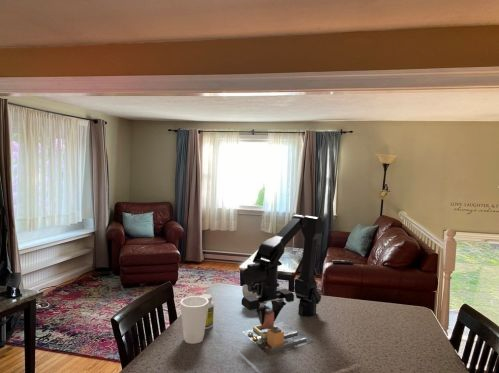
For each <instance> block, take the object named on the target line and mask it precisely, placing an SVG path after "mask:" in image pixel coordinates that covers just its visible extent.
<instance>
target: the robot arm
mask: <svg viewBox="0 0 499 373" xmlns="http://www.w3.org/2000/svg"><path fill="white" fill-rule="evenodd" d="M324 225H325V223H324V220H323V219H322V218H321V217H319V216H314V215H302V214H294V215H292V217H291V219H290V220H289V221H288V222H287V223H286V224H285V226H283V228H281V229H280V230H279V232H278V233H276V235H274V236H273V237H270V238H267V239H266V240H265V241H263V242H262V243H261V244H260V245H259V247H258V250H257V251H256V254H255V256H254V258H253V260H252V263H248V264H247V266H246V268H244V270H243V272H242V274H241V275H242V277H241V278H242V280H243V282H244V283H245V284H246V285H248V291H249V292H252V293H253V294H254V293H257V295H258V296H260V298H255V297H254V296H252V295H251V296H245V297H244V296H242V298H241V306H243V307H244V308H245V309H247V310H248V311H254V310H255V312H256V314H257V316H258V320H259V323H260V325H261V324H262V325H263V323H264V317H265V310H266V309H267V308H266V307H265V306H263V303H265V302H267V303H270V302H271V305H272V306H271V310H272V311H274V323H275V322H276V320H277V318H278V316H279V314H280V313H281V311H282V309H283V308H284V306H286V305H287V303H291V302H294V301H295V298H296V299H299V304H298V309H297V311H298V315H300V316H301V317H314V316H315V315H317V316H320V315H319V314H318V313H317V305H318V304H320V303H321V299H322V295H321V294H320V292H319V291H318V283H317V281H316V279H315V275H314V274H315V265H316V254H317V245H318V239H319V238H320V236H322V233H323V229H324ZM300 230H301V234H302V236H303V238H304V239H303V249H302V250H303V251H302V257H301V259H302V260H301V270H300V274H299V276H298V277H297V278H295V279H294V286H293V289H294V293H295V294H294V293H293V292H291V291H290V290H288V289H286V288H281V289H278V288H279V287H280V283H279V282H278V275H279V274H278V269H279V266H282V265H283V263H282V262H281V261H280V260H281V257H283V255H284V253H285V247H286V246H287V245H288V243H290V241H291V240H293V238H294V237H295V236H296V235H297V234H298V233H299V232H300ZM245 284H244V285H245ZM285 301H286V302H285Z"/></svg>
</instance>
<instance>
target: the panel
mask: <svg viewBox="0 0 499 373" xmlns="http://www.w3.org/2000/svg"><path fill="white" fill-rule="evenodd" d="M274 326H276V327H278V328H279V329H281V330H282V331H284V344H282V345H278V346H275V347H271V346H270V345H269V344H268V343H267V338H265V339H264V338H263V337H261V336H260V335H259V334H258V333H256V332H255V331H254V330H253V328H251V329H247V330H244V331H242V332H241V333H242V334H243V335H244V336H246V337H247V338H248V339H249V340H250V341H251V342H252V343H253V344H255V345H256V346H257V347H258V348H259V349H260V350H261V351H262V352H264V354H266V355H267V356H269V357H271V356H273V355H277V354H279V353H283V352H285V351H289V350H293V349H295V348H298V347H302V346H306V345H309V344H312V343H314V341H313V340H311V339H310V338H308V337H307V336H306V335H305V334H302V333H301V332H300V331H298V330H297V329H295V328H294V327H293V326H291V325H289V324H288V323H287V322H285V320H284V321H279V322H276V323H275V322H274ZM259 330H260V331H261V332H263V333H264V334H267V333H268V330H269V329H264V328H261V329H259Z"/></svg>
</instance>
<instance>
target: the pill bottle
mask: <svg viewBox="0 0 499 373" xmlns="http://www.w3.org/2000/svg"><path fill="white" fill-rule="evenodd" d="M199 296H201V297H205V298H207V299H208V301H209V308H208V312H207V318H206V325H205V330H208V329H211V328H212V327H213V325H214V308H215V307H214V305H215V304H214V302H213V296H212V295H211V294H209V293H208V294H207V293H204V294H200V295H199Z"/></svg>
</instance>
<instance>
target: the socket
mask: <svg viewBox="0 0 499 373" xmlns="http://www.w3.org/2000/svg"><path fill="white" fill-rule="evenodd" d="M274 327H276V326H274ZM274 327H273V328H274ZM261 328H262V327H261V324H258V325H253V326H252V329H253V330H254V331H255V332H256V333H258V334H259V335H260V336H261V337H263V338H264V339H265V338H268V333H267V334H264V333H263V332H261V331H260V330H259V329H261Z"/></svg>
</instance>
